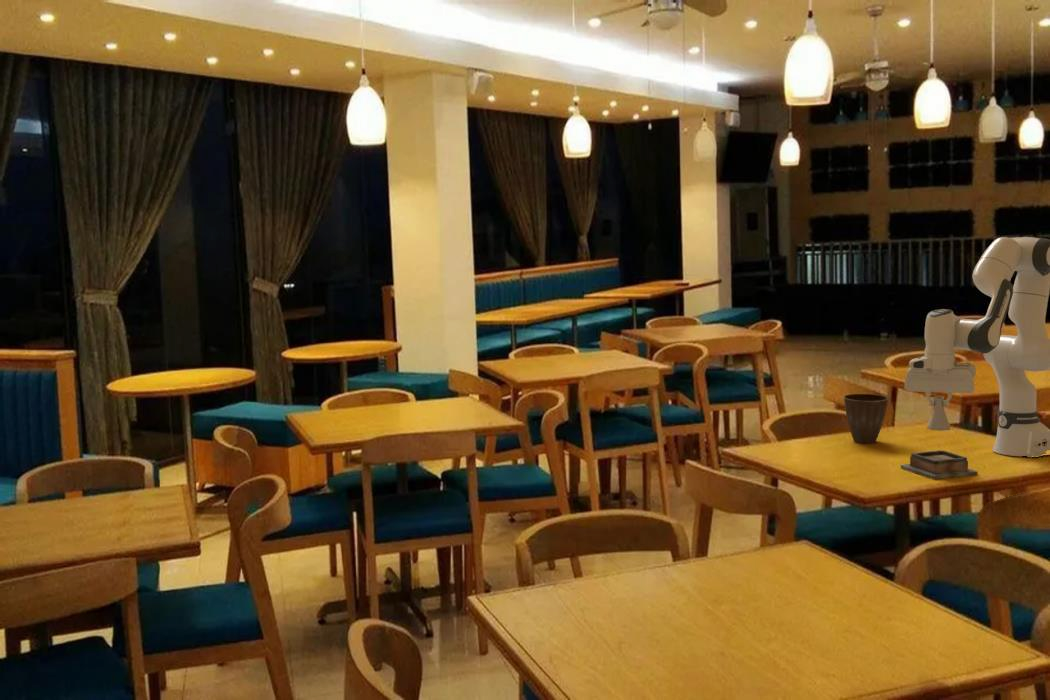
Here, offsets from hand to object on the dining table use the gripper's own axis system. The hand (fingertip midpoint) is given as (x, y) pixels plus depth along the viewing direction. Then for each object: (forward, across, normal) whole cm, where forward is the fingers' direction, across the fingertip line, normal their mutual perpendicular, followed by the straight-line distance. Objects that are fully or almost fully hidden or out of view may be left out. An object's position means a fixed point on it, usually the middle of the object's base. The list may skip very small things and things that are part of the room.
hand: (938, 406), depth 328 cm
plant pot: (+21, +26, -38) cm, 50 cm away
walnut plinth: (+21, 0, +1) cm, 21 cm away
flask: (+8, 0, 0) cm, 8 cm away
